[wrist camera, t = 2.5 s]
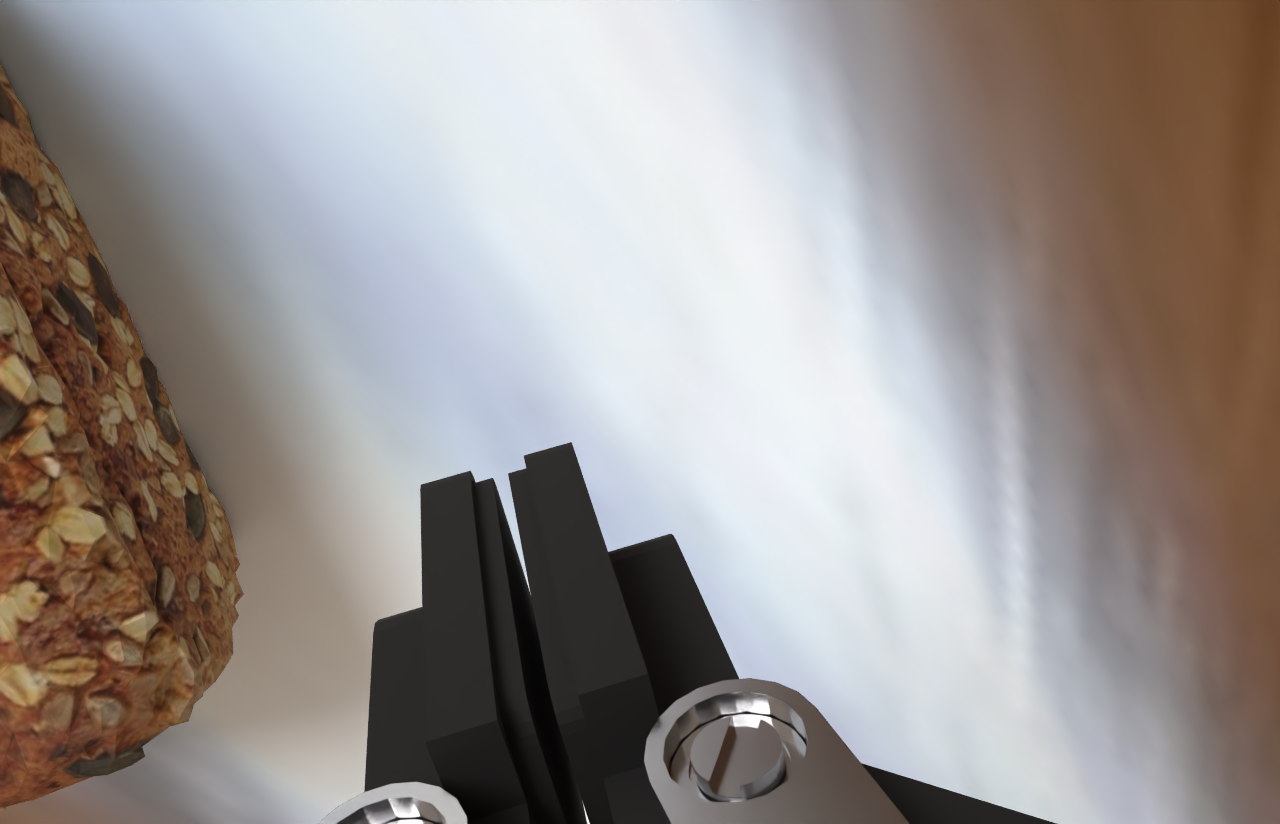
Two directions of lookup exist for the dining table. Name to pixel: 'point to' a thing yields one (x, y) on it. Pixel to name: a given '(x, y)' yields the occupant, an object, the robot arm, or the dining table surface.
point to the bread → (91, 506)
